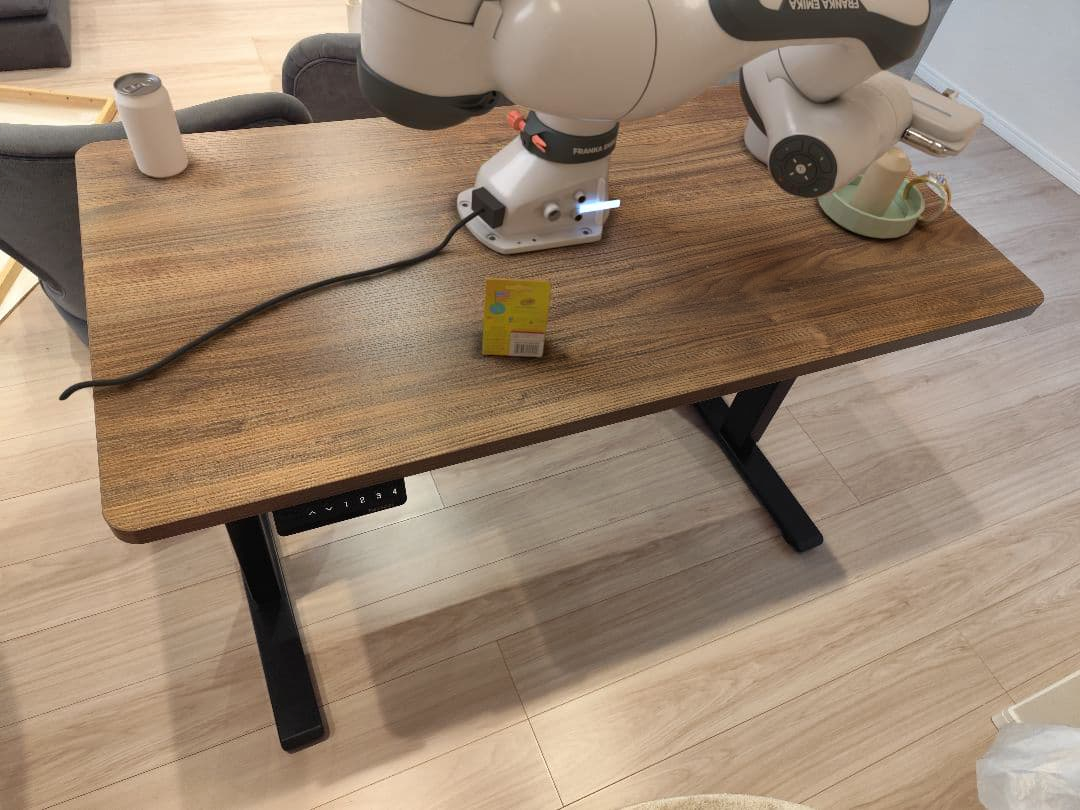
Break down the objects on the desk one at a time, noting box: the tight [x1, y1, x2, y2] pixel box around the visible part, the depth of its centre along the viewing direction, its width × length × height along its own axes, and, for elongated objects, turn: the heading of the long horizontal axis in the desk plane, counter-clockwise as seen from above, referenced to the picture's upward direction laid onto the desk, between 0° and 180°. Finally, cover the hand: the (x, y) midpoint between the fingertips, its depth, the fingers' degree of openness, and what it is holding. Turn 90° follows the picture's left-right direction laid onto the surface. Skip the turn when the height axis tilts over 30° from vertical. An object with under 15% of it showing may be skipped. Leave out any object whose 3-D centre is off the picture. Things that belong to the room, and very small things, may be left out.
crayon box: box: [481, 277, 553, 358], centre depth 84 cm, size 7×3×12 cm, turn 92°
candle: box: [850, 146, 912, 217], centre depth 110 cm, size 6×6×10 cm
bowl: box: [817, 169, 926, 239], centre depth 114 cm, size 15×15×4 cm
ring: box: [903, 170, 952, 224], centre depth 112 cm, size 7×3×8 cm, turn 29°
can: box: [112, 71, 189, 179], centre depth 98 cm, size 6×6×12 cm
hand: (914, 80), depth 89 cm, fingers open, 8 cm apart
